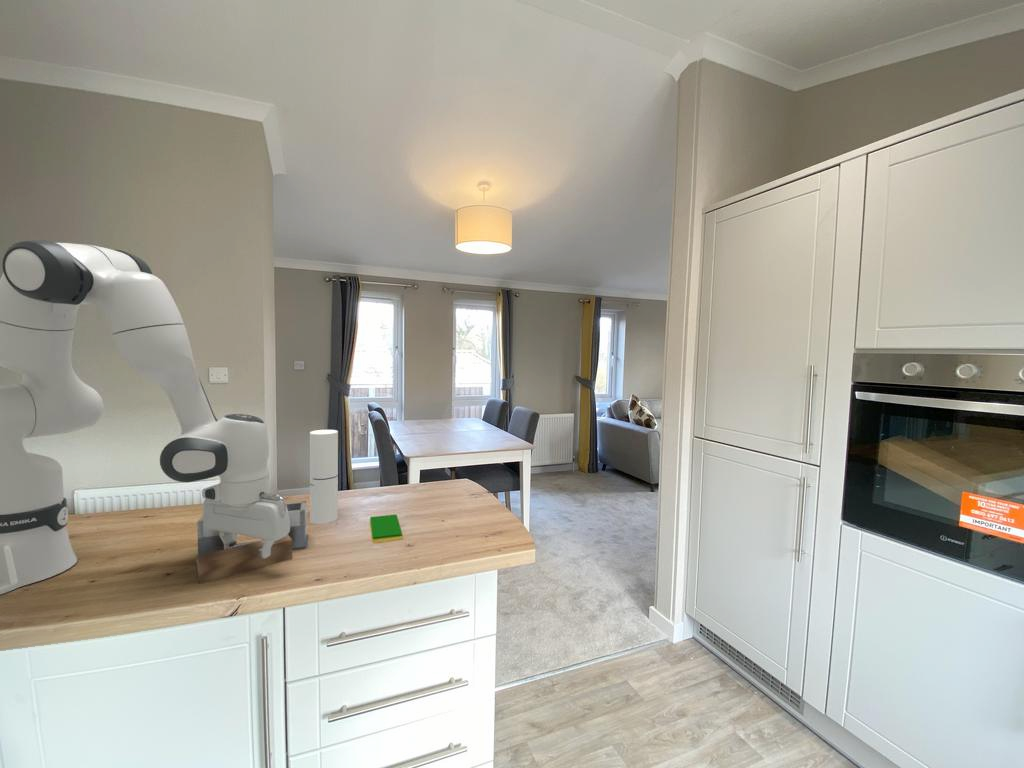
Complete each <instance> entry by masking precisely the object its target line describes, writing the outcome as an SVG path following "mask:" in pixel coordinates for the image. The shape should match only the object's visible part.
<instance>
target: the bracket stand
mask: <svg viewBox="0 0 1024 768" xmlns="http://www.w3.org/2000/svg"><path fill="white" fill-rule="evenodd" d="M286 506H287V509H288V514H289V521H290V532H289V533H288V535H289V536H290V538H291V539H292V551H297V550H298V551H299V550H302V549H303V550H305V549H308V545H309V538H310V536H309V535H310V534H308V533H307V500H304V501H295V502H286ZM196 523H197V524H196V525H197V526H196V527H197V556H199V555H203V554H207V553H212V552H216V551H220V550H224V543H223V542H222V540H221V538H220V536H219V531H216V530H210V529H207V528H206V526H205V525H204V522H203V515H202V516H201V517H200V518H199V520H198V521H197V522H196ZM231 534H232V533H231ZM237 535H238V534H232V537H233V540H234V541H236V546H241V545H246V544H250V543H254V542H259V541H262V539H260V540H254V541H245V542H239V543H238V536H237ZM194 563H195V565H197V559H196V560H195V562H194Z"/></svg>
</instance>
